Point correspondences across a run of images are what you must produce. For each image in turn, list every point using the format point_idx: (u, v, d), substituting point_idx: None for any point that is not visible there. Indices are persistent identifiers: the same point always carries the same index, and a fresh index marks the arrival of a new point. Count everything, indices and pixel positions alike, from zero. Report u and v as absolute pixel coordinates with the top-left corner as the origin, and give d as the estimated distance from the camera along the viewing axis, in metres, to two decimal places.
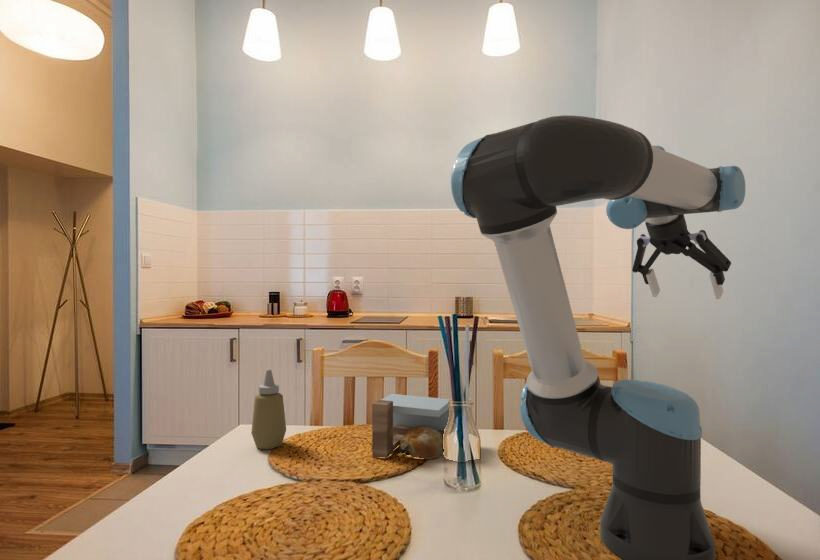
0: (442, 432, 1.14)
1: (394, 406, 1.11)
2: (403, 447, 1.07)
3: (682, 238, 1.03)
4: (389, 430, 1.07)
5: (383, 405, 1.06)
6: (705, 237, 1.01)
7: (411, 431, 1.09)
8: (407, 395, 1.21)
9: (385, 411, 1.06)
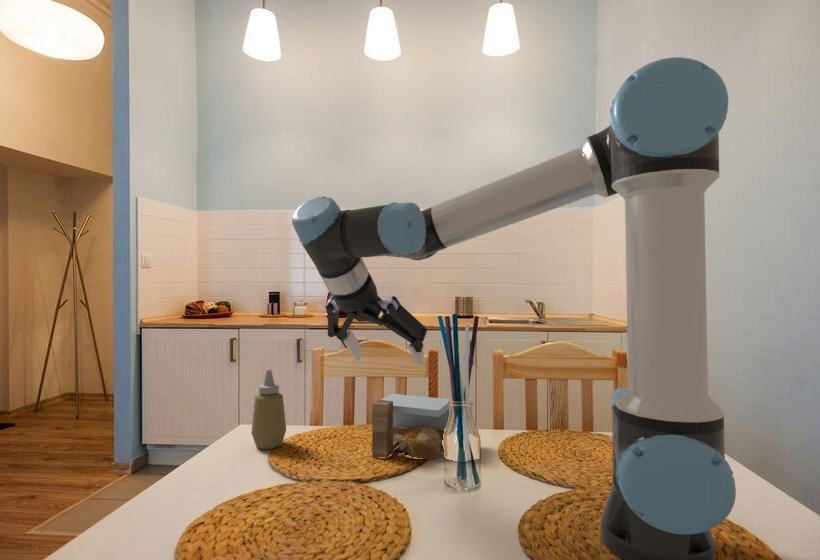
0: (442, 432, 1.14)
1: (394, 406, 1.11)
2: (402, 447, 1.07)
3: (373, 307, 0.84)
4: (389, 430, 1.07)
5: (383, 405, 1.06)
6: (397, 305, 0.83)
7: (410, 431, 1.09)
8: (407, 395, 1.21)
9: (385, 411, 1.06)
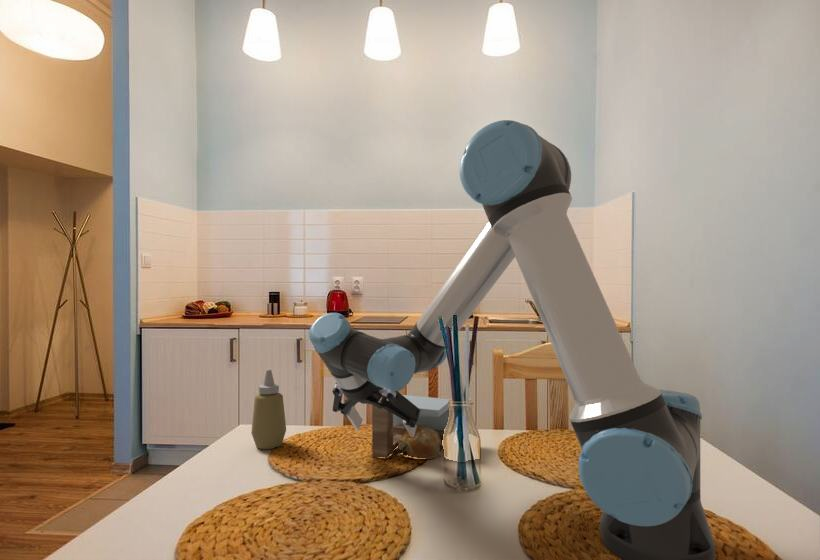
0: (442, 432, 1.14)
1: None
2: (401, 447, 1.07)
3: (374, 395, 0.98)
4: (389, 430, 1.07)
5: None
6: (395, 393, 0.98)
7: None
8: (407, 395, 1.21)
9: (385, 411, 1.06)
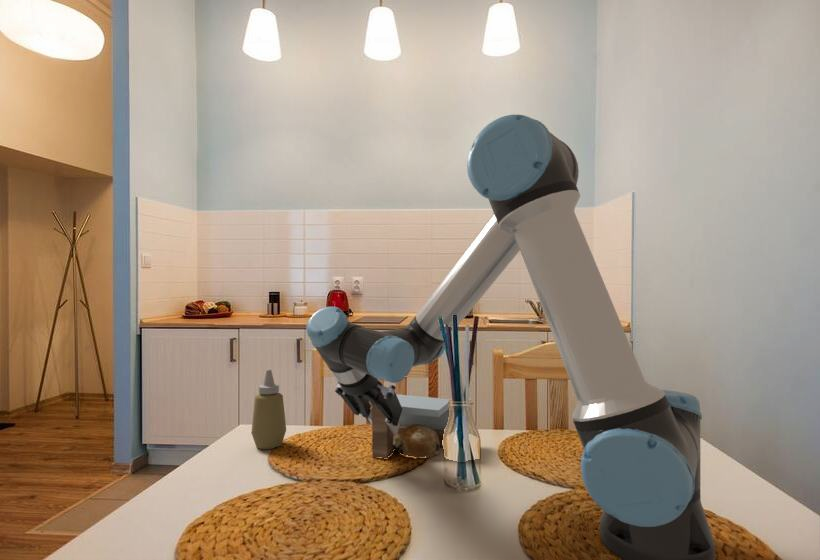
0: (442, 432, 1.14)
1: None
2: (397, 445, 1.08)
3: (374, 390, 0.97)
4: (389, 430, 1.07)
5: None
6: (393, 393, 0.98)
7: (406, 429, 1.10)
8: (407, 395, 1.21)
9: None
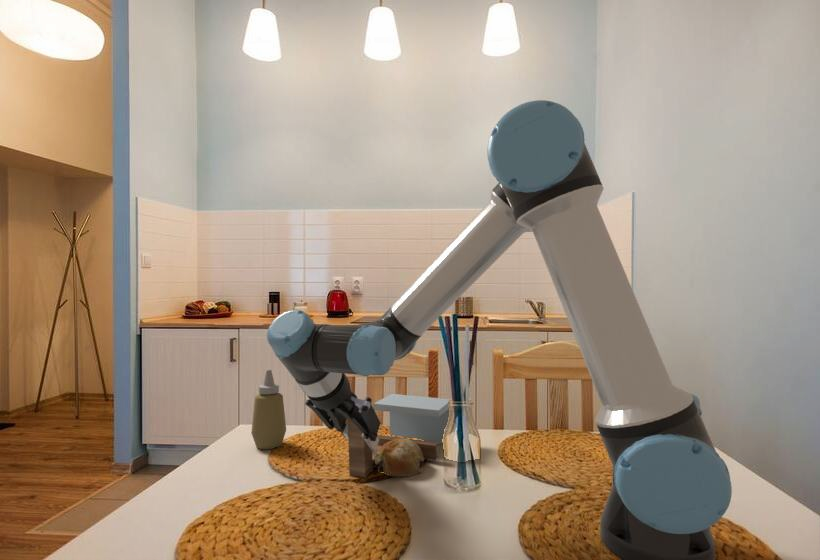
0: (427, 443, 1.05)
1: (394, 406, 1.11)
2: (376, 462, 0.99)
3: (348, 403, 0.87)
4: (367, 445, 0.97)
5: None
6: (369, 406, 0.88)
7: (387, 444, 1.01)
8: (407, 395, 1.21)
9: None
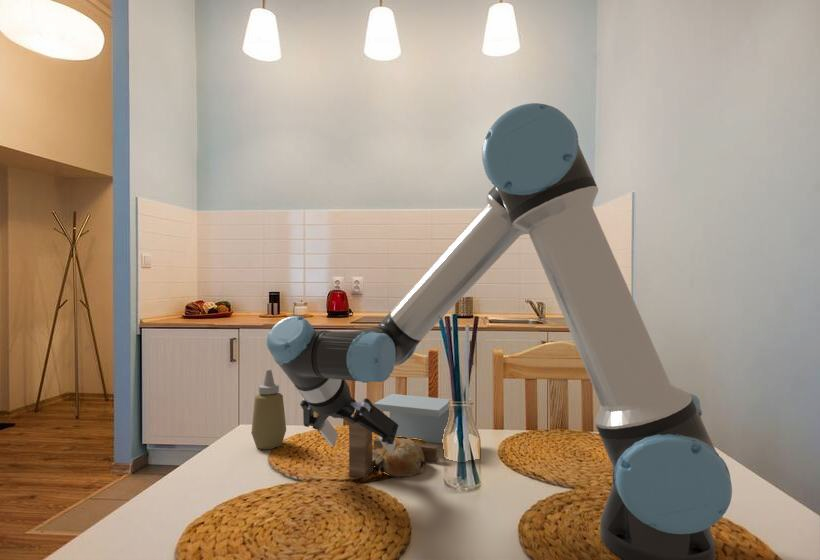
0: (427, 446, 1.05)
1: (394, 406, 1.11)
2: (377, 462, 0.99)
3: (346, 409, 0.87)
4: (368, 445, 0.97)
5: None
6: (369, 407, 0.87)
7: None
8: (407, 395, 1.21)
9: None
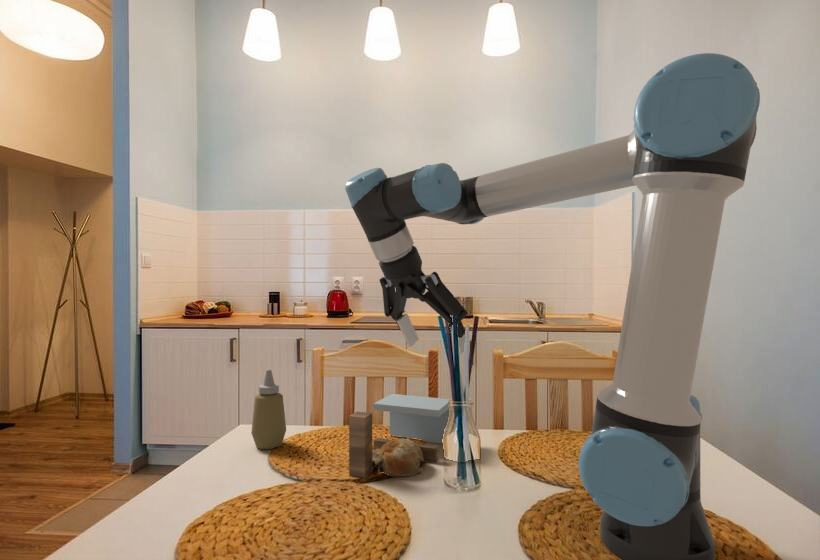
0: (427, 446, 1.05)
1: (394, 406, 1.11)
2: (377, 462, 0.99)
3: (414, 280, 0.87)
4: (368, 445, 0.97)
5: (361, 418, 0.96)
6: (436, 280, 0.86)
7: (387, 444, 1.00)
8: (407, 395, 1.21)
9: (363, 424, 0.96)
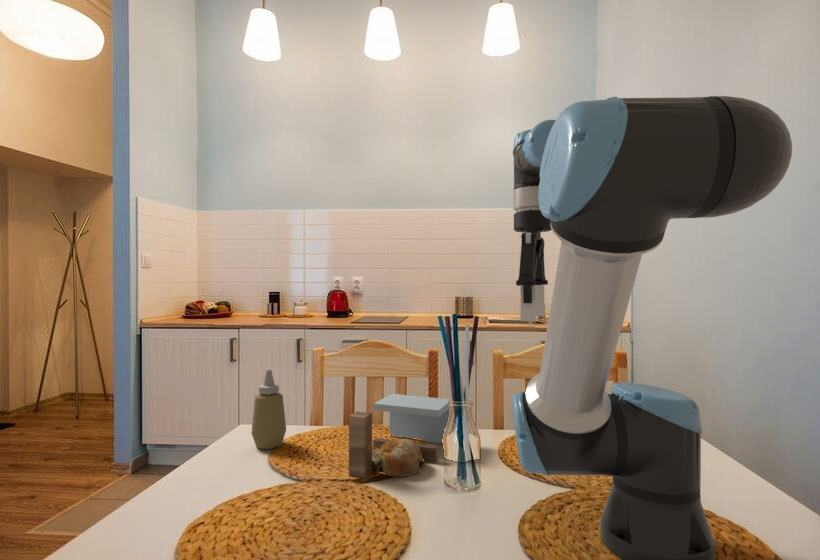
0: (426, 446, 1.05)
1: (394, 406, 1.11)
2: (376, 462, 0.99)
3: None
4: (367, 445, 0.97)
5: (361, 418, 0.96)
6: (529, 239, 0.89)
7: (386, 444, 1.00)
8: (407, 395, 1.21)
9: (363, 424, 0.96)
